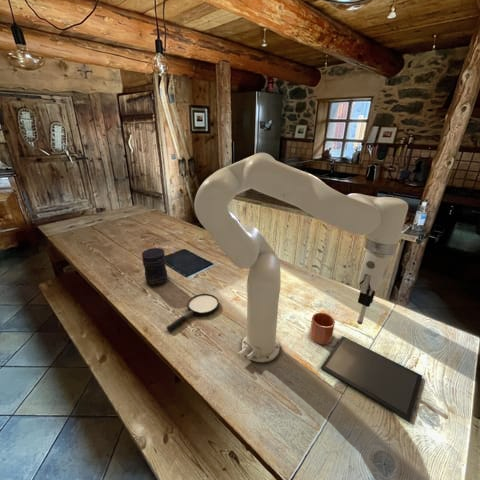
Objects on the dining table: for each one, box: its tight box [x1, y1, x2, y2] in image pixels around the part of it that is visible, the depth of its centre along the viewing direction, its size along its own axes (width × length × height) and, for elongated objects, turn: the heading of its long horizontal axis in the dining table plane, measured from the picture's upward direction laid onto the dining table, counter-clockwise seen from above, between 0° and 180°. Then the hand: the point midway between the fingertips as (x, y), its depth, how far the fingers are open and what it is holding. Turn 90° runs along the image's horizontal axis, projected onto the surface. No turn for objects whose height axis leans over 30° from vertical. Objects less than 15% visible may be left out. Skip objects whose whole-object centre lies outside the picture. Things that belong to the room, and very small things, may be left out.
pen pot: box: [309, 312, 336, 345], centre depth 92 cm, size 7×8×8 cm
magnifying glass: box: [166, 293, 220, 333], centre depth 104 cm, size 12×24×2 cm, turn 143°
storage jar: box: [141, 247, 168, 288], centre depth 122 cm, size 10×10×15 cm
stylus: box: [356, 288, 370, 325], centre depth 77 cm, size 1×1×13 cm
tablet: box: [320, 335, 423, 422], centre depth 80 cm, size 17×24×1 cm
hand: (364, 302), depth 77 cm, fingers closed on stylus, 1 cm apart
